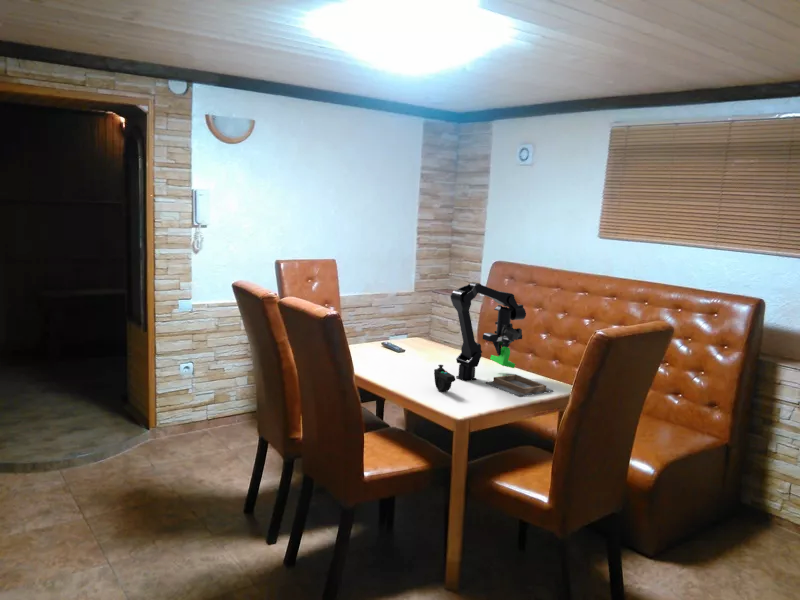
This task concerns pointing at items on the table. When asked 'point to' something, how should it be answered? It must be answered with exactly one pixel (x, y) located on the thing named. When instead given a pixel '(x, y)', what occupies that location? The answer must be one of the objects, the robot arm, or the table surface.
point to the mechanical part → (503, 358)
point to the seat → (518, 385)
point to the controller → (443, 379)
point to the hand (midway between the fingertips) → (501, 355)
